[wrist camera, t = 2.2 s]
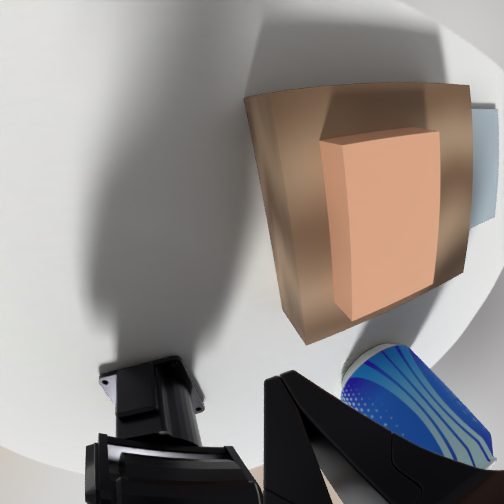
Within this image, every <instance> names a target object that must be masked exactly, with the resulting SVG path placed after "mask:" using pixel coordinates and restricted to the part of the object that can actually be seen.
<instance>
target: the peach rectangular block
mask: <svg viewBox="0 0 504 504" xmlns="http://www.w3.org/2000/svg"><path fill="white" fill-rule="evenodd" d="M319 144H320V151H321V159H322V166H323V174H324V183H325V192H326V201H327V211H328V221H329V232H330V244H331V256H332V271H333V287H334V302H335V303H336V304H337V306H338V307H339V308H340V309H341V310H342V311H343V312H344V313H345V314H346V315H347V316H348V317H349V319H350V320H351V321H354V320H357V319H359V318H361V317H363V316H366V315H368V314H370V313H373V312H375V311H377V310H379V309H381V308H384V307H386V306H388V305H390V304H392V303H394V302H397V301H399V300H401V299H403V298H405V297H407V296H409V295H411V294H413V293H415V292H417V291H419V290H422V289H424V288H426V287H428V286H430V285H431V284H433V280H434V272H435V263H436V254H437V243H438V230H439V214H440V137H439V131H434V130H429V129H423V128H416V127H408V128H400V129H392V130H384V131H376V132H369V133H363V134H356V135H349V136H343V137H337V138H331V139H326V140H320V141H319Z"/></svg>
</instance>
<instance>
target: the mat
mask: <svg viewBox="0 0 504 504" xmlns="http://www.w3.org/2000/svg"><path fill="white" fill-rule="evenodd" d="M471 109H472V126H473V185H472V203H471V216H470V226H469V229H470V228H472V227H474V226H476V225H478V224H481V223H483V222H485V221H487V220H489V219H491V218H494V217H495V209H496V198H497V185H498V164H499V126H498V109H480V108H471Z"/></svg>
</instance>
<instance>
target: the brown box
mask: <svg viewBox="0 0 504 504" xmlns="http://www.w3.org/2000/svg"><path fill="white" fill-rule="evenodd" d="M244 101H245V106H246V111H247V116H248V121H249V126H250V131H251V137H252V142H253V147H254V152H255V157H256V163H257V168H258V173H259V179H260V184H261V189H262V195H263V200H264V206H265V211H266V217H267V222H268V228H269V233H270V239H271V245H272V250H273V256H274V262H275V267H276V273H277V279H278V285H279V291H280V297H281V303H282V309H283V311H284V313H285V314H286V316H287V317H288V319H289V320H290V322H291V323H292V325H293V326H294V328H295V329H296V331H297V332H298V334H299V335H300V337H301V338H302V340H303V341H304V343H305V344H306V345H309V344H312V343H314V342H317V341H319V340H322V339H324V338H327V337H329V336H332V335H334V334H336V333H339V332H341V331H344V330H346V329H348V328H351V327H353V326H355V325H358V324H360V323H362V322H364V321H367V320H369V319H371V318H373V317H376V316H378V315H380V314H382V313H384V312H386V311H389V310H391V309H393V308H395V307H397V306H399V305H401V304H403V303H405V302H407V301H409V300H412V299H414V298H416V297H418V296H420V295H422V294H424V293H426V292H427V291H429V290H431V289H433V288H435V287H437V286H439V285H441V284H443V283H445V282H447V281H448V280H450V279H452V278H454V277H456V276H458V275H459V274H461V273H463V270H464V264H465V258H466V251H467V243H468V235H469V226H470V216H471V203H472V185H473V126H472V109H471V97H470V87H469V85H458V84H442V83H407V82H397V83H361V84H344V85H331V86H320V87H310V88H301V89H293V90H285V91H278V92H271V93H265V94H260V95H255V96H251V97H246V98H244ZM408 127H416V128H423V129H429V130H434V131H439V137H440V214H439V230H438V243H437V254H436V263H435V272H434V280H433V284H431V285H430V286H428V287H426V288H424V289H422V290H419V291H417V292H415V293H413V294H411V295H409V296H407V297H405V298H403V299H401V300H399V301H397V302H394V303H392V304H390V305H388V306H386V307H384V308H381V309H379V310H377V311H375V312H373V313H370V314H368V315H366V316H363V317H361V318H359V319H357V320H354V321H351V320H350V319H349V317H348V316H347V315H346V314H345V313H344V312H343V311H342V310H341V309H340V308H339V307H338V306H337V304H336V303H335V302H334V287H333V271H332V256H331V244H330V232H329V221H328V211H327V201H326V192H325V183H324V174H323V166H322V159H321V151H320V144H319V141H320V140H326V139H331V138H337V137H343V136H349V135H356V134H363V133H369V132H376V131H384V130H392V129H400V128H408Z"/></svg>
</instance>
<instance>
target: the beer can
mask: <svg viewBox="0 0 504 504" xmlns="http://www.w3.org/2000/svg"><path fill="white" fill-rule="evenodd" d="M341 401H342V402H344V403H346V404H347V405H349V406H350V407H352V408H354V409H355V410H357V411H359V412H360V413H362V414H363V415H365V416H367V417H368V418H370V419H372V420H373V421H375V422H377V423H378V424H380V425H382V426H384V427H385V428H387V429H389V430H390V431H392V433H396V434H398V435H399V436H401V437H403V438H405V439H406V440H408V441H410V442H412V443H414V444H416V445H418V446H420V447H422V448H425V449H427V450H429V451H432V452H434V453H437V454H439V455H442V456H445V457H448V458H450V459H453V460H456V461H459V462H462V463H465V464H468V465H471V466H474V467H477V468H481V469H486V470H488V469H489V468H490V467H491V466H492V465H493V464H494V463H495V462H496V461H497V458H494V457H493V450H492V440H491V434H490V433H489V431H488V430H487V429H486V428H485V427H484V426H483V425H482V424H481V422H480V421H479V420H478V419H477V418H476V417H475V416H474V415H473V414H472V413H471V412H470V411H469V409H468V408H467V407H466V406H465V405H464V404H463V403H462V402H461V401H460V400H459V399H458V398H457V397H456V396H455V395H454V394H453V393H452V391H451V390H450V389H449V388H448V387H447V386H446V385H445V384H444V383H443V382H442V381H441V380H440V379H439V378H438V377H437V376H436V375H435V374H434V373H433V372H432V371H431V370H430V369H429V368H428V367H427V366H426V364H425V363H424V362H423V361H422V360H421V359H420V358H419V357H418V356H417V355H416V354H415V353H414V352H413V351H412V350H411V349H410V348H409V347H407V346H405V345H394V344H390V343H386V344H381V345H378V346H376V347H373V348H371V349H370V350H368V351H366V352H365V353H364V354H362V355H361V356H360V357H359V358H358V359H356V360H355V361H354V362H353V364H352V365H351V366H350V367H349V369H348V370H347V371H346V373H345V375H344V377H343V380H342V391H341Z"/></svg>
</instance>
